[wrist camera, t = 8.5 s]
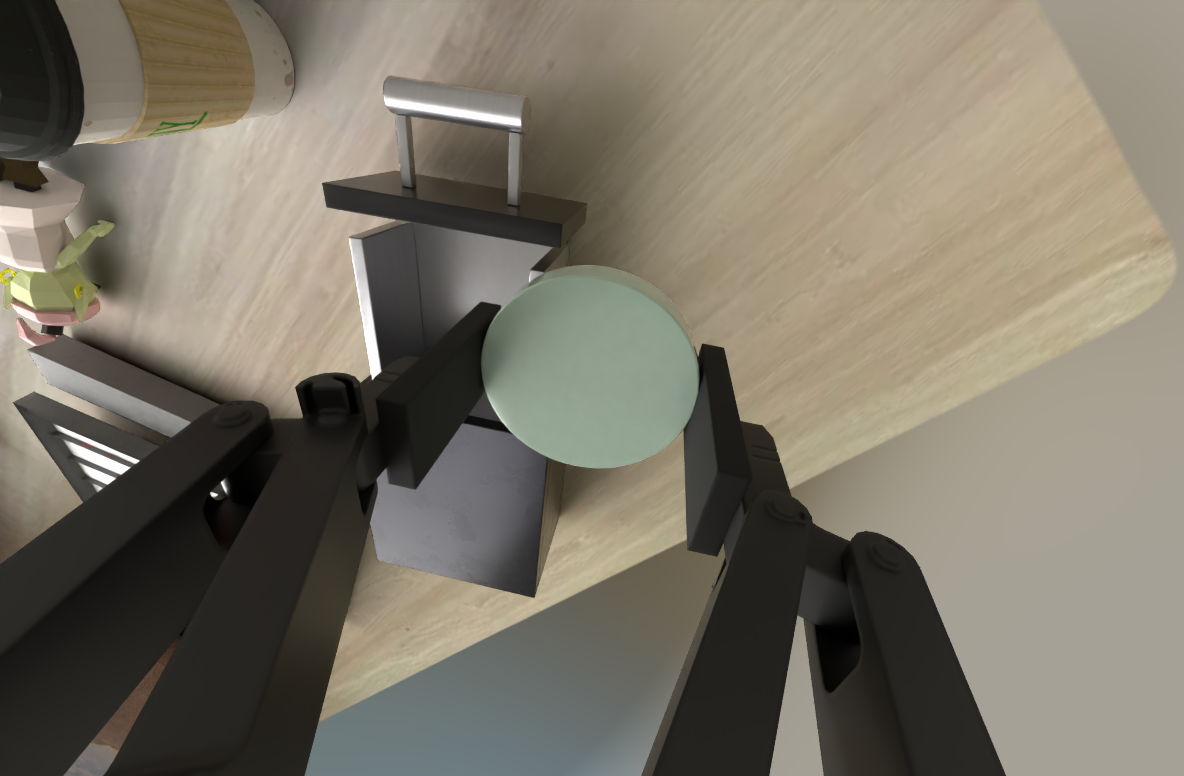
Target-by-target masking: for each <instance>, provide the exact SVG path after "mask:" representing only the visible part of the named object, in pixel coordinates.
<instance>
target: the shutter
mask: <svg viewBox="0 0 1184 776" xmlns="http://www.w3.org/2000/svg"><path fill="white" fill-rule="evenodd" d="M27 351H28V352H29V354H30V356H31V357H32V359H33V361H34V362H35V364H36V366H37V367H38V369H39V371H40V372H41V374H42V376H43V377H44V379H45V380H46V382H47V384H49V385H51V386H54V387H56V388H58V389H61V390H63V391H65V392H67V393H70V394H72V395H74V396H77V397H79V398H81V399H83V400H86V401H88V402H90V403H93V404H95V405H97V406H99V407H102V408H104V409H106V410H109V411H111V412H113V413H115V414H118V415H120V416H122V417H125V418H127V419H129V420H132V421H134V422H136V423H138V424H141V425H143V426H145V427H148V428H150V429H152V430H154V431H157V432H159V433H161V434H164V435H166V436H168V437H170V438H171V437H173V436H174V435H175V434H177V433H178V432H179V431H181V430H182V429H183V428H185V427H186V426H187V425H189V424H190V423H191V422H193V421H194V420H195V419H197V418H198V417H199V416H201V415H202V414H204V413H205V412H207V411H209V410H211V409H212V408H214V407H217V406H220V404H218V403H215V402H213V401H211V400H209V399H206V398H204V397H202V396H200V395H198V394H195V393H193V392H191V391H189V390H186V389H184V388H182V387H180V386H177V385H175V384H173V383H171V382H169V381H166V380H164V379H162V378H160V377H157V376H155V375H153V374H151V373H148V372H146V371H144V370H142V369H139V368H137V367H135V366H133V365H131V364H128V363H126V362H124V361H122V360H119V359H117V358H115V357H113V356H110V355H108V354H106V353H104V352H102V351H99V350H97V349H95V348H93V347H90V346H88V345H86V344H84V343H81V342H79V341H77V340H75V339H73V338H70V337H68V336H66V335H64V334H62V335H61V336H57V337H56V340H55V341H53V342H50V343H47V344H44V345H40V346H35V347H33V348H30V349H28V350H27ZM13 403H14V405H15V406H16V408H17V409H18V411H19V412H20V413H21V415H22V416H23V418H24V419H25V420H26V422H27V423H28V425H29V426H30V428H31V429H32V430H33V432H34V433H35V435H36V436H37V437H38V439H39V440H40V442H41V443H42V445H43V446H44V447H45V449H46V450H47V452H48V453H49V455H50V456H51V457H52V459H53V460H54V462H55V463H56V464H57V466H58V467H59V469H60V470H61V472H62V473H63V474H64V476H65V477H66V479H67V480H68V481H69V483H70V484H71V486H72V487H73V489H74V490H75V491H76V493H77V494H78V496H79V497H80V498H81V500H82V501H83V503H84V502H85V501H86V500H88V499H89V498H90V497H92V496H93V495H94V494H96V493H97V492H98V491H100V490H101V489H103V488H104V487H105V486H107V485H108V484H109V483H111V482H112V481H113V480H115V479H116V478H117V477H119V476H120V475H121V474H123V473H124V472H125V471H127V470H128V469H129V468H131V467H132V466H133V465H135V464H136V463H138V462H139V461H140V460H142V459H143V458H144V457H146V456H147V455H148V454H150V453H151V452H152V451H154V450H155V449H156V448H158V447H159V446H158V445H156V444H153V443H151V442H149V441H146V440H144V439H142V438H139V437H137V436H135V435H133V434H130V433H128V432H126V431H123V430H121V429H119V428H116V427H114V426H112V425H109V424H107V423H105V422H103V421H100V420H98V419H96V418H93V417H91V416H89V415H86V414H84V413H82V412H80V411H77V410H75V409H73V408H70V407H68V406H66V405H63V404H61V403H59V402H57V401H54V400H52V399H50V398H47V397H45V396H43V395H40V394H38V393H36V392H33V393H31V394H29V395H27V396H25V397H23V398H21V399H19V400H17V401H15V402H13ZM223 490H224V489H223V486H222V484H221V483H220V484H219V485H218V486H217V487H216V488H215V489H214V490H213V491H212V492H211V493H210V494H211V496H212V497H213V498H214V497H216V496H217V495H218V494H219V493H220V492H222V491H223Z"/></svg>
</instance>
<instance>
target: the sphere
mask: <svg viewBox="0 0 1184 776" xmlns="http://www.w3.org/2000/svg"><path fill="white" fill-rule="evenodd" d="M180 639H181V636H180V635H179V636H178V637H177V638H176V639H175V641H174V642H173V643H172V644H171V646H170V647H169V648H168V649H167V650H166V652H165V653H164V654H163V655H162V656H161V658H160V659H159V660H158V661H157V663H156V664H155V665H154V666H153V667H152V669H151V670H150V671H149V672H148V674H147V675H146V676H145V677H144V678H143V680H142V681H141V682H140V683H139V684H138V686H137V687H136V688H135V689H134V691H133V692H132V693H131V694H130V695H129V697H128V698H127V699H126V700H125V701H124V703H123V704H122V705H121V706H120V708H119V709H118V710H117V711H116V712H115V714H114V715H113V716H112V717H111V719H110V720H109V721H108V722H107V723H106V725H105V726H104V727H103V728H102V729H101V731H100V732H99V733H98V734H97V736H96V737H95V738H94V739H93V740H92V742H91V743H90V744H89V745H88V746H87V748H86V749H85V750H84V751H83V753H82V754H81V755H80V756H79V757H78V759H77V760H76V761H75V762H74V764H73V765H72V766H71V767H70V768H69V770H68V771H67V772H66V773H65V774H64V776H103V775H104V774H105V773H106V771H107V770H108V768H109V767H110V765H111V763H112V762H113V760H114V759H115V757H116V755H117V753H118V751H119V750H120V748H121V746H122V744H123V742H124V741H125V739H126V737H127V735H128V733H129V732H130V730H131V728H132V726H133V724H134V722H135V721H136V719H137V717H138V715H139V713H140V712H141V710H142V708H143V706H144V704H145V702H146V701H147V699H148V697H149V695H150V693H151V692H152V690H153V688H154V686H155V684H156V683H157V681H158V679H159V677H160V675H161V673H162V672H163V670H164V668H165V666H166V664H167V663H168V661H169V659H170V657H171V655H172V654H173V652H174V650H175V648H176V646H177V644H178V643H179V641H180Z"/></svg>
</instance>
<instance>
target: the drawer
mask: <svg viewBox="0 0 1184 776" xmlns="http://www.w3.org/2000/svg"><path fill="white" fill-rule="evenodd" d="M383 95H384V100H385V103H386V106H387V108H388V109H389V111H390V112H392V113H393V114H396V115H395V121H396V131H397V142H398V152H399V163H400V171H392V172H386V173H380V174H374V175H368V176H362V177H355V178H349V179H343V180H337V181H331V182H325V183H322V185H323V190H324V196H325V201H326V207H327V208H332V209H338V210H344V211H349V212H355V213H361V214H366V215H372V216H378V217H383V218H389V219H395V220H397V221H394V222H391V223H388V224H385V225H383V226H380V227H377V228H374V229H371V230H368V231H365V232H362V233H359V234H356V235H353V236H350V237H349V241H350V247H351V253H352V259H353V265H354V271H355V278H356V284H357V290H358V296H359V302H360V308H361V314H362V320H363V326H364V332H365V338H366V345H367V351H368V357H369V363H370V369H371V375H372V380H373V379H374V377H375V376H376V375H378V374H379V373H380V372H382V370H383V369H385V368H386V367H387V366H388V365H389V364H391V363H392V362H393V361H396V360H398V359H400V358H403V357H405V356H408V355H409V356H414V357H419V358H420V357H421V356H422V355H423V354H424V353H425V352H426V351H428V350H429V349H430V348H431V347H432V346H433V345H434V344H435V343H436V342H437V341H438V340H439V339H441V338H442V337H443V336H444V335H445V334H446V333H447V332H448V331H449V330H450V329H451V328H452V327H454V326H455V325H456V324H457V323H458V322H459V321H460V320H461V319H462V318H463V317H464V316H465V315H467V314H468V313H469V312H470V311H471V310H472V309H473V308H474V307H475V306H476V305H477V304H478V303H480V302H481V301H482V302H487V303H492V304H498V305H501V308H502V307H503V306H504V305H505V304H506V302H507V301H508V300H509V299H510V298H511V297H512V296H513V295H514V294H515V293H516V292H517V291H518V290H519V289H520V288H521V287H523V286H524V285H525V284H527V283H528V282H530V281H531V280H533V279H534V278H536V277H538V276H540V275H542V274H544V273H547V272H549V271H552V270H555V269H559V268H562V267H567V263H568V253H569V245H568V244H565V243H566V242H567V241H568V240H569V239H570V238H571V237H572V236H573V235H574V234H575V233H576V232H577V230H578V229H579V228H580V227H581V226H582V225H583V224H584V223H585V219H586V211H587V203H585V202H579V201H573V200H567V199H561V198H555V197H549V196H543V195H537V194H531V193H525V192H521V183H522V157H523V134H526V133H527V132H528V130H529V127H530V121H531V105H530V101H529V98H528V97H527V96H522V95H515V94H509V93H502V92H496V91H489V90H482V89H476V88H469V87H462V86H456V85H449V84H442V83H436V82H429V81H422V80H416V79H409V78H402V77H396V76H388V77H387V78H386V79H385V81H384V86H383ZM410 116H412V117H418V118H424V119H431V120H437V121H444V122H450V123H456V124H463V125H469V126H475V127H482V128H488V129H494V130H501V131H507V132H510V133H509V150H508V190H507V189H501V188H496V187H490V186H484V185H478V184H472V183H466V182H460V181H454V180H448V179H442V178H436V177H430V176H424V175H418V174H415V161H414V149H413V136H412V123H411V117H410ZM469 415H471V416H476V417H480V418H485V419H490V420H495V421H500V422H502V421H501V420H500V418H499V417H498V415H497V414H496V412H495V411H494V409H493V407H492V405H491V403H490V401H489V399H488V397H487V394H486V391H485V392H484V394H483V395H482V396H481V398H480V399H479V401H478V402H477V404H476V405H475V406H474V408H473V409H472V411H471V412H470V414H469Z"/></svg>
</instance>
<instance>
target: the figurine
mask: <svg viewBox="0 0 1184 776" xmlns="http://www.w3.org/2000/svg"><path fill="white" fill-rule="evenodd" d="M38 163H39V161H25V160H17V159H7V158H3V157H0V261H2V262H4V263H6V264H8V265H11V266H14V267H17V268H20V270H19V271H18V273H16V272H14V271H12V270H11V269H9V268H8V269H6V270H4V271H3V272H1V273H0V280H1V282H2V284H4V305H3V308H5V309H7V308H8V307H9V306H11V305H12V306H13V307H14V308H15V310H16V311H17V312H18V313H19V314H21V315H23V316H25V317H27V318H29V319H31V320H34V321H36V322H38V323H40V324H42V330H41V333H45V335H39V334H38V333H36V332H35V331H33V330H32V329H31V328H30V327H29V326H28V325H27V324H26V322H25V321H24V320H23V319H22V318H17V319H16V323H17V328H18V334H19V337H20V338H22V339H23V340H25V341H27V342H28V343H30V344H31V345H34V346H40V345H44V344H47V343H50V342H53V341H55V340H56V335H60V336H61V335H62V334H63V327H64V326H69V325H73V324H76V323H80V322H81V323H82V322H83V321H85V320H88V319H90V318H91V317H93V316H95V315H96V314H97V313H98V312H99V310H100V302H99V300H98V298H96V293H97V289H99V288H100V285H97V284H95V283H93V282H90V281H89V280H88V279H87V278H86V277H85V276H84V274H83V273H82V271H81V269H80V267H79V266H78V264H77V262H76V259H77V258H78V257H79V256H80V255H81V254H82V253H83V252H84V251H85V250H86V249H87V248H88V246H89V245H90V244H91V243H92V242H93V241H94V240H95V238H96V237H103V236H105V235H106V234H108V233H109V232H110V230H111V229H113V227H114V226H115V224H114V223H111V222H107V221H104V220H98V221H97V222H99V223H101V224H100V225H93V226H91V227H89V228H88V229H87V230H86V231H85V232H84V233H82V234H81V235H80V236H79V237H77V238H76V239H75V240H74V238H73V236H72V234H71V232H70V230H69V229H68V227H67V225H66V223H65V220H64V219H65V218H66V217H68V215H69V214H70V213H71V212H72V210H73V209H74V208H75V206H76V205H77V204H78V203H79V201H80V198H81V195H82V192H83V189H84V186H85V185H84V184H81V183H79V182H77V181H75V180H73V179H71V178H69V177H67V176H64V175H62V174H60V173H58V172H56V171H54V170H52V169H50V168H43V167H38ZM7 272H10V273H12V274H13V275H12V277H8V278H5V281H4V278H3V276H2V275H4V274H5V273H7Z"/></svg>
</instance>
